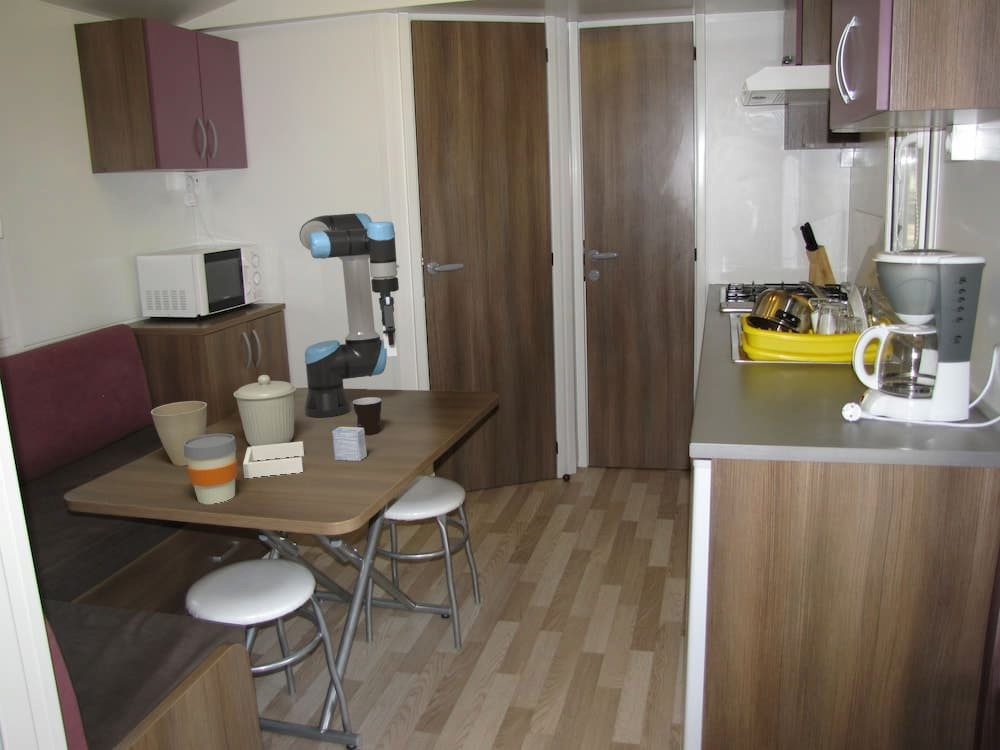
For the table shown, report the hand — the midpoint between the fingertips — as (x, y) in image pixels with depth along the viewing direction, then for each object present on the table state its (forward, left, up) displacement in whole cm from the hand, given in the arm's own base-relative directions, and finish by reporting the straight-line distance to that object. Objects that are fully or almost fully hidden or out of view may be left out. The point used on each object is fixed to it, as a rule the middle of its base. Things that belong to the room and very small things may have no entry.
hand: (390, 352), depth 260 cm
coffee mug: (-16, -7, -27) cm, 32 cm away
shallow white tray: (+10, -34, -27) cm, 45 cm away
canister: (-13, -37, -27) cm, 48 cm away
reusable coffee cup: (+31, -48, -27) cm, 63 cm away
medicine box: (+10, -14, -28) cm, 32 cm away
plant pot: (-3, -60, -27) cm, 66 cm away
